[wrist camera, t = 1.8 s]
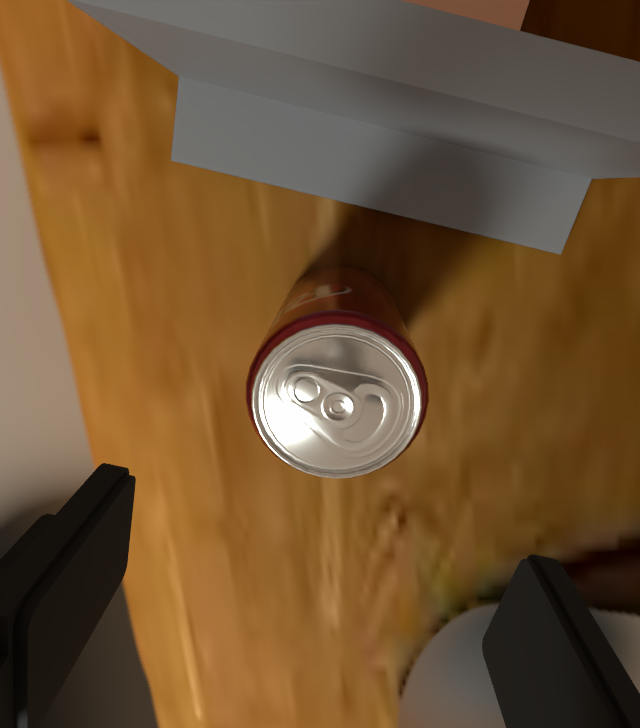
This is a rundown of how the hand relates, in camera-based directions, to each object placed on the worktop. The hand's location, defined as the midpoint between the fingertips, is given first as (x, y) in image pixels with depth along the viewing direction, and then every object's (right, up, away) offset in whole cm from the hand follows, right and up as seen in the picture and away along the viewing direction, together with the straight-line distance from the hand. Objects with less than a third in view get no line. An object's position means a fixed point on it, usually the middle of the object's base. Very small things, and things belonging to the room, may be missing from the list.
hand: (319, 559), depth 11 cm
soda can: (+1, +7, +18) cm, 20 cm away
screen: (+3, +16, +14) cm, 22 cm away
